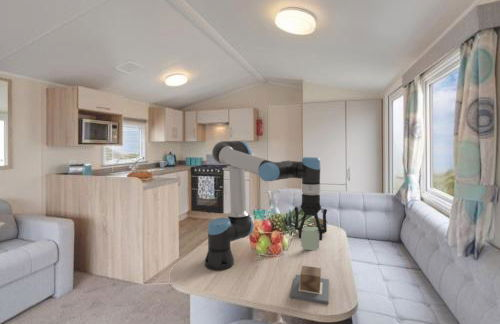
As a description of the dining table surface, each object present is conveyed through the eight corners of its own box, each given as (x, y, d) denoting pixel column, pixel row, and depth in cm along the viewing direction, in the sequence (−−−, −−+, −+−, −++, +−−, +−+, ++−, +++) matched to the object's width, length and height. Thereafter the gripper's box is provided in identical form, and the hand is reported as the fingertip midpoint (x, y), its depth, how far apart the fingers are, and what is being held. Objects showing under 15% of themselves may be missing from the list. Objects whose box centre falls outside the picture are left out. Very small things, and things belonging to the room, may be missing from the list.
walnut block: (300, 289, 114) (300, 273, 113) (302, 280, 121) (302, 265, 121) (319, 292, 111) (320, 276, 111) (320, 283, 119) (320, 268, 118)
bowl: (296, 234, 187) (296, 220, 186) (308, 227, 200) (309, 215, 200) (320, 240, 175) (320, 225, 175) (331, 233, 189) (331, 219, 188)
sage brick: (302, 248, 113) (302, 230, 112) (303, 243, 119) (304, 226, 118) (317, 250, 111) (317, 231, 111) (317, 245, 117) (318, 227, 116)
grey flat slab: (290, 297, 110) (290, 294, 110) (296, 276, 127) (296, 274, 127) (328, 304, 106) (328, 301, 105) (328, 281, 123) (328, 279, 123)
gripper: (287, 193, 113) (286, 247, 114) (334, 196, 107) (333, 252, 108) (289, 190, 120) (289, 241, 121) (334, 193, 114) (333, 245, 116)
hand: (310, 246), depth 115 cm, fingers closed on sage brick, 6 cm apart
